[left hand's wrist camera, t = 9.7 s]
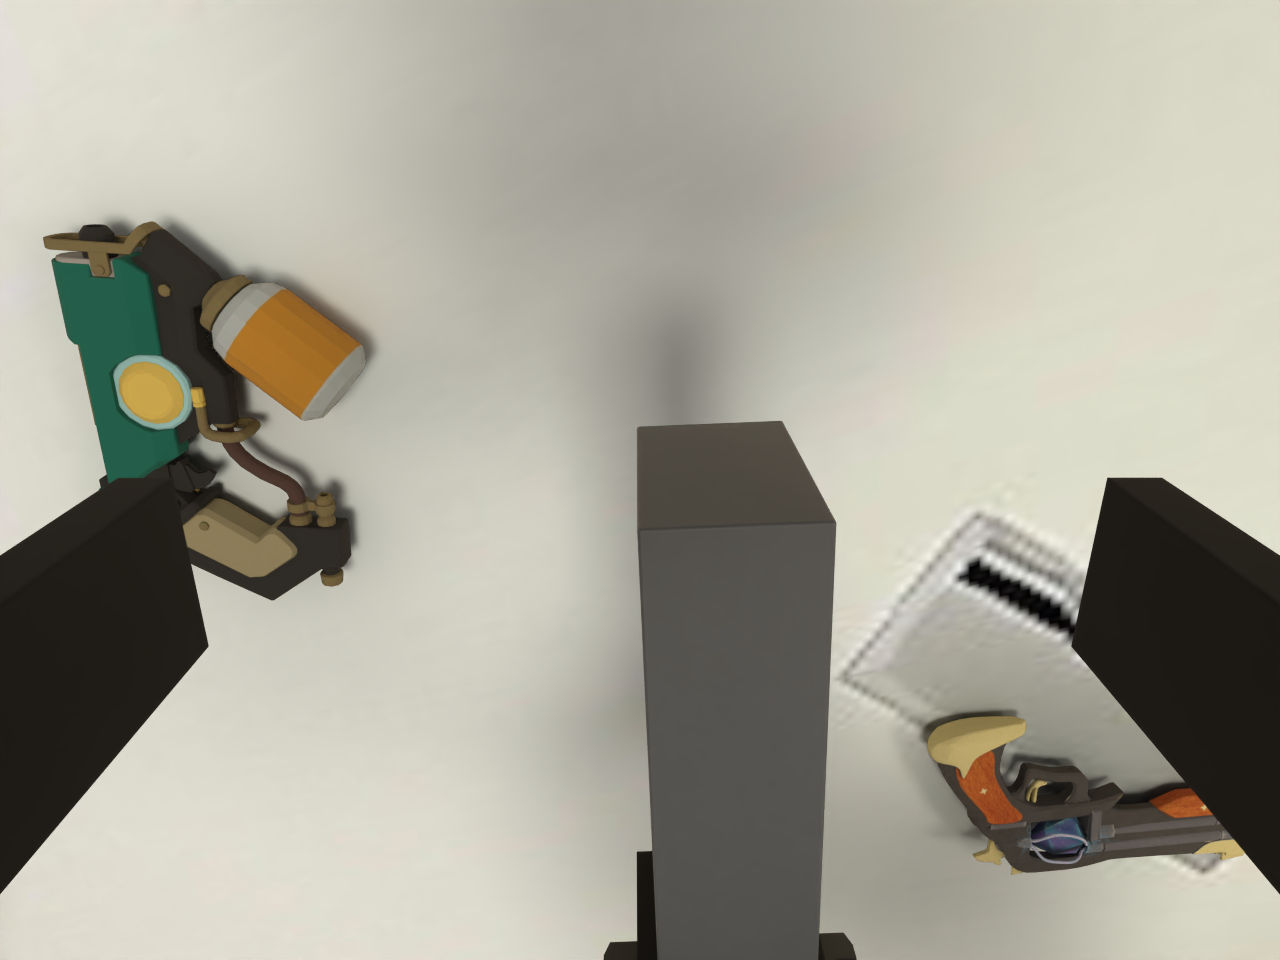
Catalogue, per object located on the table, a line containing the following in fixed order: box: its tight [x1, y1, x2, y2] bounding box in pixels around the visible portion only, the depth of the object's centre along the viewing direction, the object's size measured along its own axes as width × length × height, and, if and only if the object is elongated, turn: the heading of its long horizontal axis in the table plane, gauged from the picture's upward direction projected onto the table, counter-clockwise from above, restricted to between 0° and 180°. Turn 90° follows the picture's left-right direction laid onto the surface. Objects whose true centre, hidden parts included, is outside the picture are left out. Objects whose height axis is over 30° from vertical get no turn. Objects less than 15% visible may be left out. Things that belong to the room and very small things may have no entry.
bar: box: [637, 421, 836, 960], centre depth 28 cm, size 22×5×8 cm, turn 2°
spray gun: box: [43, 222, 366, 600], centre depth 40 cm, size 4×17×15 cm
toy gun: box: [928, 716, 1245, 875], centre depth 49 cm, size 3×19×10 cm
